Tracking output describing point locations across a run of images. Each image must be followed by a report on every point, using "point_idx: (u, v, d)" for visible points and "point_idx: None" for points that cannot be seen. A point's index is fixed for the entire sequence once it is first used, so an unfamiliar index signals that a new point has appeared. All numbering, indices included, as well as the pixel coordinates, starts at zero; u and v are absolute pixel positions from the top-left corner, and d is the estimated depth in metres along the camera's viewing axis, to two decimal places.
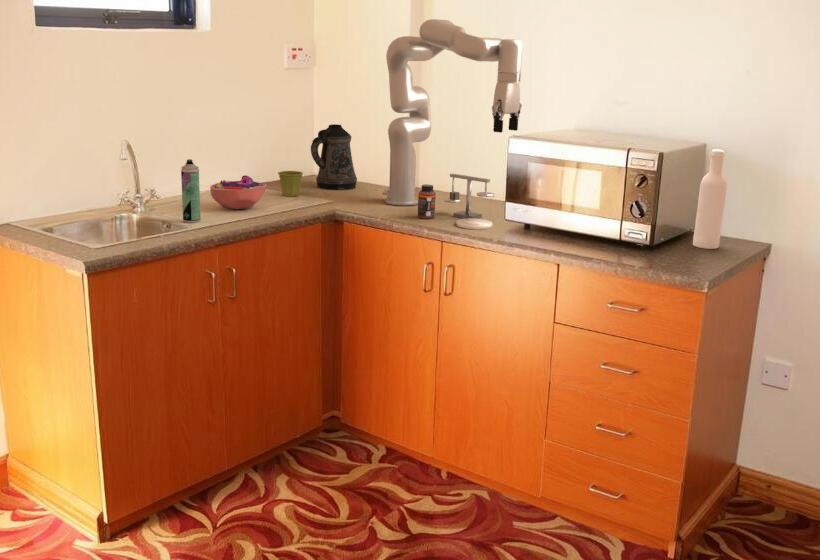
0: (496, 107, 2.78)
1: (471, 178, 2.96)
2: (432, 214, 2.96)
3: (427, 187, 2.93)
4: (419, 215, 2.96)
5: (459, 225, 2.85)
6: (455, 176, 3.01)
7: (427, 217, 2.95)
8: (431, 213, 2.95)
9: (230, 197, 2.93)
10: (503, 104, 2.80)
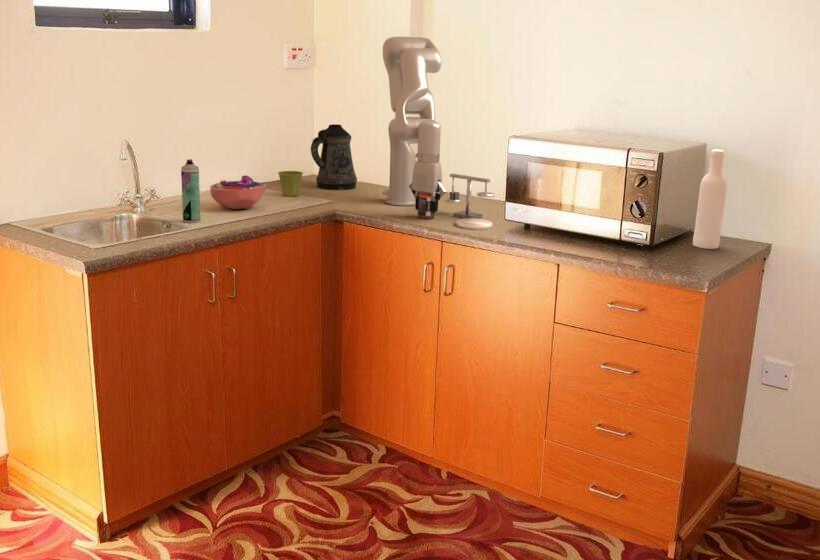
0: None
1: (471, 178, 2.96)
2: (432, 214, 2.96)
3: None
4: (419, 215, 2.96)
5: (459, 225, 2.85)
6: (455, 176, 3.01)
7: (427, 217, 2.95)
8: (431, 213, 2.95)
9: (230, 197, 2.93)
10: (441, 183, 2.93)
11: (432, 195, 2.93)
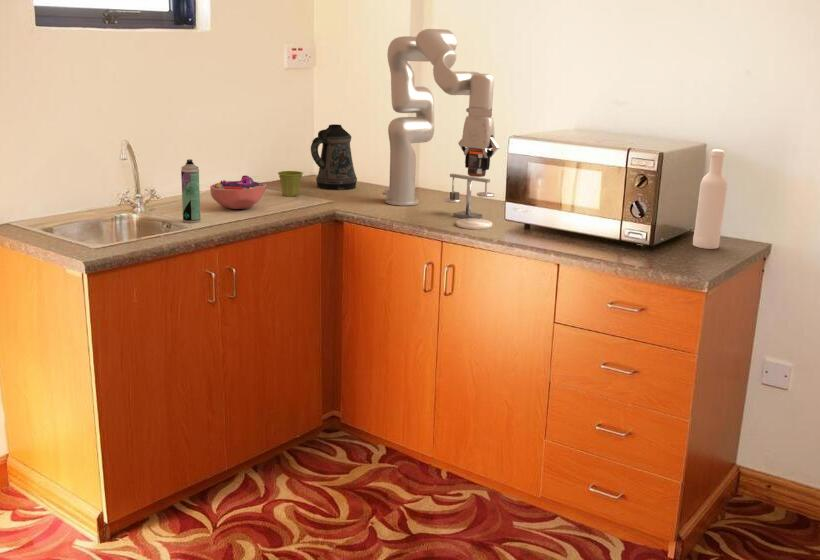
0: None
1: (471, 178, 2.96)
2: (483, 172, 2.81)
3: None
4: (469, 173, 2.82)
5: (459, 225, 2.85)
6: (455, 176, 3.01)
7: (478, 175, 2.81)
8: (482, 170, 2.81)
9: (230, 197, 2.93)
10: None
11: (484, 151, 2.78)
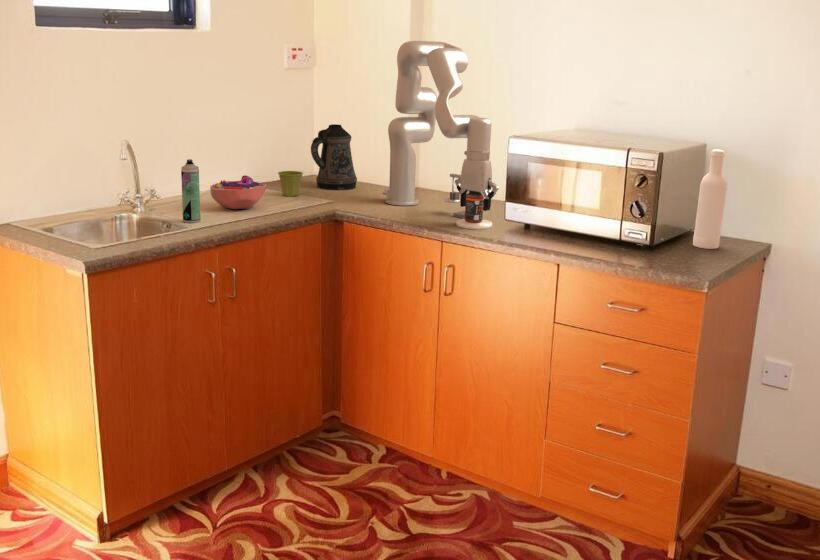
0: None
1: None
2: (480, 218, 2.85)
3: None
4: (466, 219, 2.86)
5: (459, 225, 2.85)
6: (455, 176, 3.01)
7: (475, 221, 2.85)
8: (479, 216, 2.85)
9: (230, 197, 2.93)
10: None
11: (484, 193, 2.81)
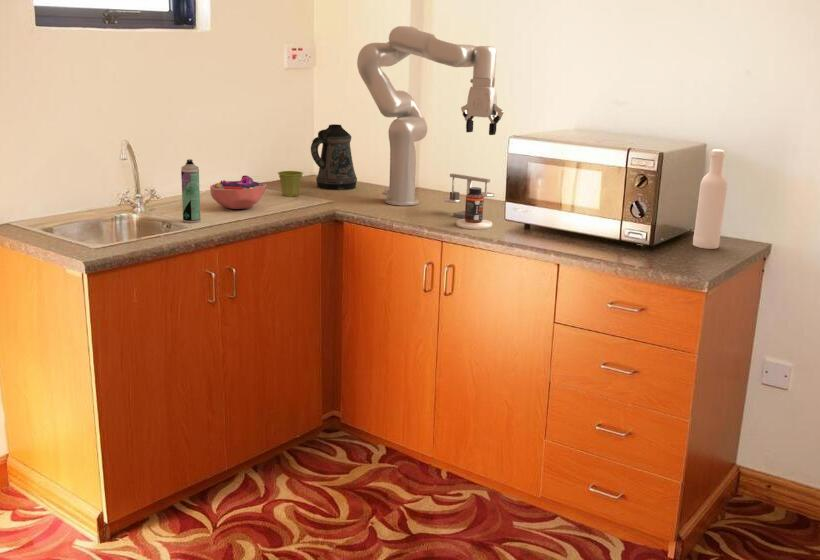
0: None
1: (471, 178, 2.96)
2: (480, 218, 2.85)
3: (475, 190, 2.83)
4: (466, 219, 2.86)
5: (459, 225, 2.85)
6: (455, 176, 3.01)
7: (475, 221, 2.85)
8: (479, 217, 2.85)
9: (230, 197, 2.93)
10: None
11: (490, 118, 2.96)
